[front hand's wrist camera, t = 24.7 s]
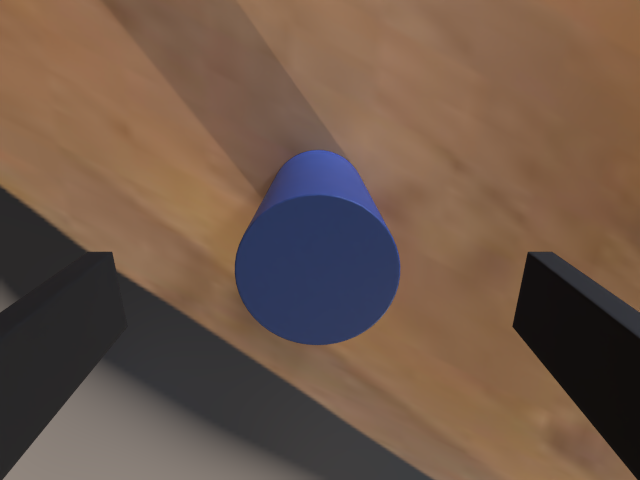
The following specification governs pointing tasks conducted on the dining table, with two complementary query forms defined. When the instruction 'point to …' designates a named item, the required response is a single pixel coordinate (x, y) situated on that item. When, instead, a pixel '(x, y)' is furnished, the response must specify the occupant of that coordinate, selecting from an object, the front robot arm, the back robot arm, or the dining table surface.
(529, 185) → the dining table surface
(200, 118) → the dining table surface
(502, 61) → the dining table surface
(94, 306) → the front robot arm
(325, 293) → the cylinder
